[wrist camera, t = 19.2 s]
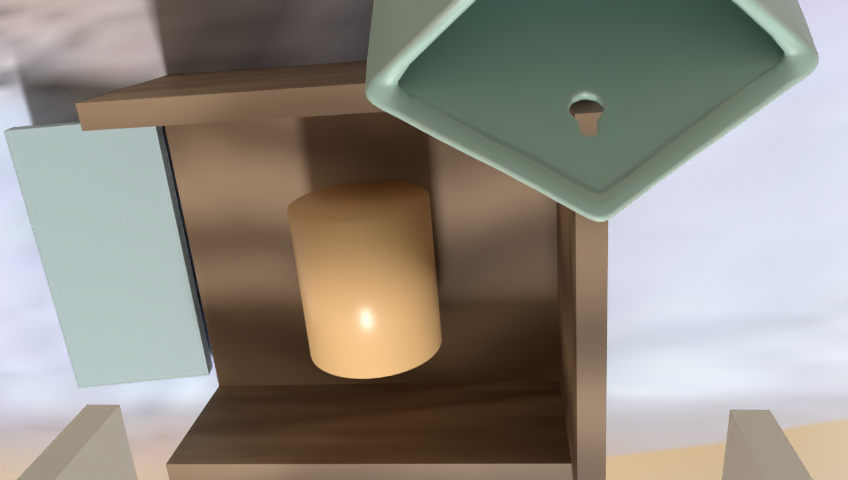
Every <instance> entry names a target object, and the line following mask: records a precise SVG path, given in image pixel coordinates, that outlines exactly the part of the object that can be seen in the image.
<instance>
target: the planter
mask: <svg viewBox="0 0 848 480" xmlns="http://www.w3.org/2000/svg"><path fill="white" fill-rule="evenodd" d="M818 59H819V58H818V53H817V50H816V47H815V45H814V42H813V39H812V36H811V34H810V31H809V28H808V26H807V23H806V20H805V18H804V15H803V13H802V10H801V8H800V5H799V3H798V0H373V9H372V18H371V27H370V36H369V45H368V54H367V67H366V82H365V95H366V98H367V99H368V100H369V101H370V102H371V103H372V104H373V105H375V106H376V107H378V108H380V109H381V110H383V111H385V112H387V113H389V114H391V115H393V116H395V117H397V118H399V119H401V120H403V121H405V122H407V123H408V124H410V125H412V126H414V127H416V128H418V129H419V130H421V131H423V132H425V133H427V134H429V135H431V136H432V137H434V138H436V139H438V140H440V141H442V142H444V143H446V144H448V145H450V146H452V147H454V148H456V149H457V150H459V151H461V152H463V153H465V154H467V155H469V156H471V157H473V158H475V159H477V160H479V161H481V162H483V163H485V164H487V165H489V166H491V167H494V168H495V169H497V170H499V171H501V172H503V173H505V174H507V175H509V176H511V177H512V178H514V179H516V180H518V181H520V182H522V183H524V184H526V185H527V186H529V187H531V188H533V189H535V190H537V191H539V192H540V193H542V194H544V195H546V196H547V197H549V198H551V199H553V200H555V201H556V202H558V203H560V204H562V205H564V206H566V207H567V208H569V209H571V210H573V211H575V212H576V213H578V214H580V215H582V216H584V217H586V218H588V219H590V220H593V221H595V222H604V221H607V220H609V219H610V218H612V217H613V216H615V215H616V214H618V213H619V212H620V211H622V210H623V209H624V208H626V207H627V206H628V205H630V204H631V203H632V202H634V201H635V200H636V199H638V198H639V197H640V196H642V195H643V194H644V193H646V192H647V191H648V190H649V189H651V188H652V187H653V186H655V185H656V184H657V183H659V182H660V181H661V180H663V179H664V178H666V177H667V176H668V175H670V174H671V173H672V172H674V171H675V170H677V169H678V168H679V167H681V166H682V165H683V164H685V163H686V162H687V161H689V160H690V159H692V158H693V157H694V156H696V155H697V154H699V153H700V152H702V151H703V150H705V149H706V148H707V147H709V146H710V145H712V144H713V143H715V142H716V141H717V140H719V139H720V138H722V137H723V136H725V135H726V134H727V133H729V132H730V131H732V130H733V129H734V128H736V127H737V126H739V125H740V124H742V123H743V122H745V121H746V120H747V119H749V118H750V117H752V116H753V115H754V114H756V113H757V112H758V111H760V110H761V109H763V108H764V107H765V106H767V105H768V104H769V103H771V102H772V101H773V100H775V99H776V98H778V97H779V96H780V95H782V94H783V93H784V92H786V91H787V90H789V89H790V88H792V87H793V86H795V85H796V84H798V83H799V82H801V81H802V80H803V79H805V78H806V77H807V76H808V75H810V74H811V73H812V72H813V71H814V70H815V68H816V67H817V65H818ZM580 100H591V101H595V102H597V103H599V104H600V105H601V106H602V107H603V112H602V115H601V116H600V117H599V119H598V120H597V134H596V135H594V136H587V135H584V134H583V133H582V132H581V131H580V125H579V122H578V121H577V120H576V119H575V118H574V117H573V116H572V115H571V113H570V111H569V107H570V106H571V105H572V103H575V102H577V101H580Z"/></svg>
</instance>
